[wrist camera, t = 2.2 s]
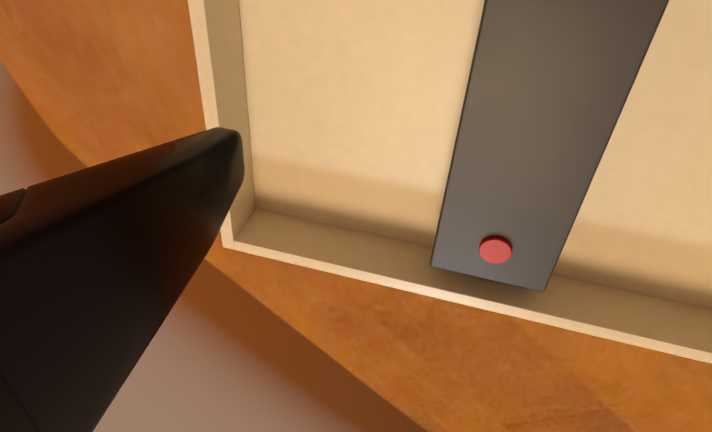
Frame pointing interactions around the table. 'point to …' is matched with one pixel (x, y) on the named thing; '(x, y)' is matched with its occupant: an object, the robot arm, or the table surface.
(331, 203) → the tray
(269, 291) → the table surface
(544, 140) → the remote
